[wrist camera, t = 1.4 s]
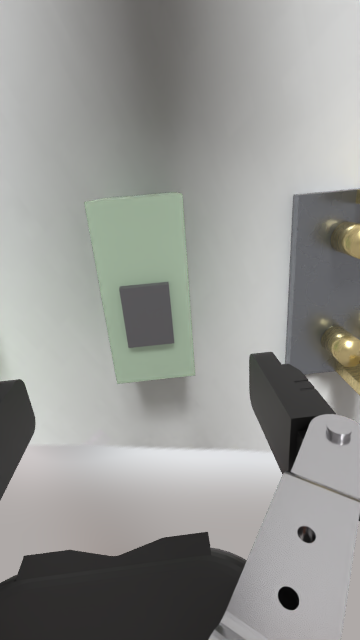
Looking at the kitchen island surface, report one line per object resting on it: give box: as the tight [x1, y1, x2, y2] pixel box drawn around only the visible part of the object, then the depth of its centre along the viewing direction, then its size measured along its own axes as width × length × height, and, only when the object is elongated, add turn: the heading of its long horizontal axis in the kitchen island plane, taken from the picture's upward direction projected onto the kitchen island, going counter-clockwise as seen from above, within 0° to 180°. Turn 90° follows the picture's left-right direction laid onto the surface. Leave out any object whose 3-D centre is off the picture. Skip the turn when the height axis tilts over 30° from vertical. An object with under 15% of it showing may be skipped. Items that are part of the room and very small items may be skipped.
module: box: [84, 192, 195, 384], centre depth 23 cm, size 12×6×8 cm, turn 5°
